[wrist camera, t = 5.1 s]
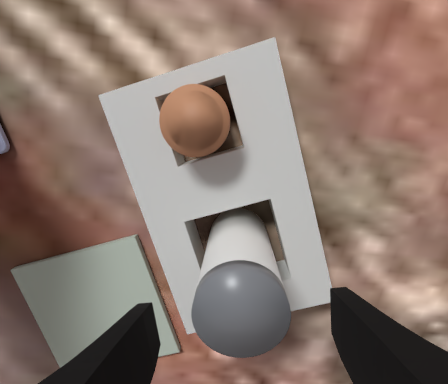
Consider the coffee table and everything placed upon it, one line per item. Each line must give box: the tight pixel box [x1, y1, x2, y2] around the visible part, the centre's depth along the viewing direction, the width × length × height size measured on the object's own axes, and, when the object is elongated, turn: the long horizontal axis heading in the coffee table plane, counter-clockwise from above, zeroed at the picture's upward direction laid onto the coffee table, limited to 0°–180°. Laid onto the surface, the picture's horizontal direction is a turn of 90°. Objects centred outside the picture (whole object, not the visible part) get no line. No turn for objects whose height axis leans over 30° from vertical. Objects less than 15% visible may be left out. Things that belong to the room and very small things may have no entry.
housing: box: [98, 37, 332, 334], centre depth 17 cm, size 16×10×2 cm, turn 16°
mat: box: [10, 234, 181, 368], centre depth 21 cm, size 10×10×1 cm
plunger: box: [159, 84, 230, 157], centre depth 15 cm, size 3×3×4 cm
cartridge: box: [191, 208, 291, 358], centre depth 15 cm, size 4×4×8 cm
